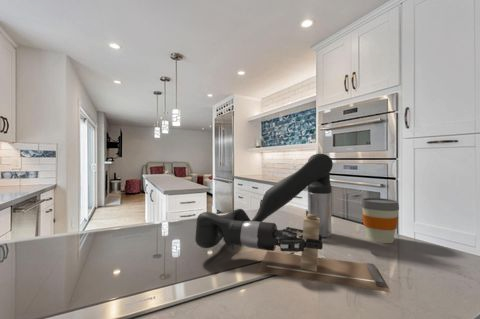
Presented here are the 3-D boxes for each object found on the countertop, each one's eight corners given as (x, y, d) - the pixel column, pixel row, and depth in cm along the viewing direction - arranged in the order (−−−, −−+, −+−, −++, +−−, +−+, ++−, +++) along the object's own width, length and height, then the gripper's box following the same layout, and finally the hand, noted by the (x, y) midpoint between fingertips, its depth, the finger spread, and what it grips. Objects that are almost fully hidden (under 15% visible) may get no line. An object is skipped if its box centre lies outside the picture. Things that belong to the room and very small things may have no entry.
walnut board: (256, 277, 60) (256, 267, 60) (267, 256, 73) (267, 248, 73) (390, 298, 50) (389, 287, 50) (374, 270, 63) (374, 261, 63)
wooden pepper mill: (300, 268, 61) (303, 215, 61) (301, 262, 64) (304, 212, 64) (316, 271, 59) (319, 217, 59) (316, 265, 63) (319, 214, 63)
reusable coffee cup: (356, 239, 89) (356, 200, 89) (366, 232, 98) (366, 196, 98) (395, 247, 80) (395, 204, 80) (402, 239, 89) (402, 200, 89)
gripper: (264, 240, 73) (321, 246, 68) (252, 258, 60) (322, 268, 54) (264, 216, 73) (321, 221, 68) (252, 228, 60) (323, 236, 54)
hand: (321, 241), depth 61 cm, fingers closed on wooden pepper mill, 4 cm apart
